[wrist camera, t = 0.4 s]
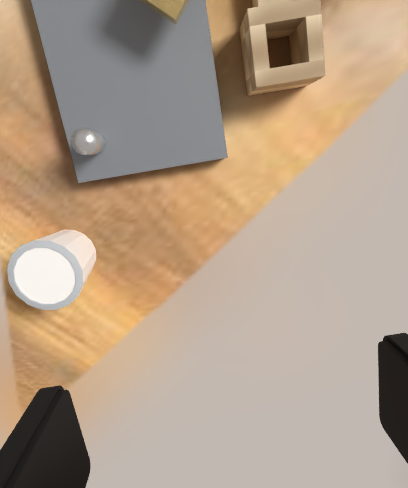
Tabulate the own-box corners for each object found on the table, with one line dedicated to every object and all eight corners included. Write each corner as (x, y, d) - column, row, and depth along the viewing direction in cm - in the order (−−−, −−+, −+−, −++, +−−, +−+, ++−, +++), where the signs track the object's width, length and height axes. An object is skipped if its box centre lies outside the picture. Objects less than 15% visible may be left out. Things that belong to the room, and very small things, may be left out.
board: (30, -30, 31) (20, -42, 29) (194, -59, 31) (195, -73, 29) (84, 181, 36) (78, 182, 34) (225, 157, 36) (227, 157, 34)
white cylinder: (35, 276, 39) (2, 303, 32) (42, 217, 37) (9, 232, 30) (97, 288, 39) (77, 317, 33) (106, 231, 38) (88, 249, 31)
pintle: (86, 133, 35) (67, 130, 30) (107, 129, 35) (92, 126, 30) (91, 155, 35) (74, 156, 30) (112, 152, 35) (99, 152, 30)
